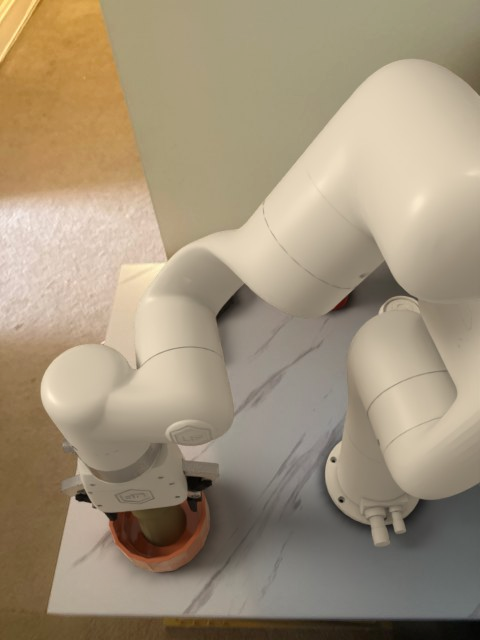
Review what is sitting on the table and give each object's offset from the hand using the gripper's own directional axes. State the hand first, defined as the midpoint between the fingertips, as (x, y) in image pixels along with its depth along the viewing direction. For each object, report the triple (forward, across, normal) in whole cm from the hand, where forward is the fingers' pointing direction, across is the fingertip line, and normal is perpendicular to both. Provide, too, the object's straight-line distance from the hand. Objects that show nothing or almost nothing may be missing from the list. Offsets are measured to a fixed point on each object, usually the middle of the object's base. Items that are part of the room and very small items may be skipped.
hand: (154, 504), depth 68 cm
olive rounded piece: (+7, 0, 0) cm, 7 cm away
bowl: (+7, 0, 0) cm, 7 cm away
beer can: (+8, +34, +19) cm, 40 cm away
